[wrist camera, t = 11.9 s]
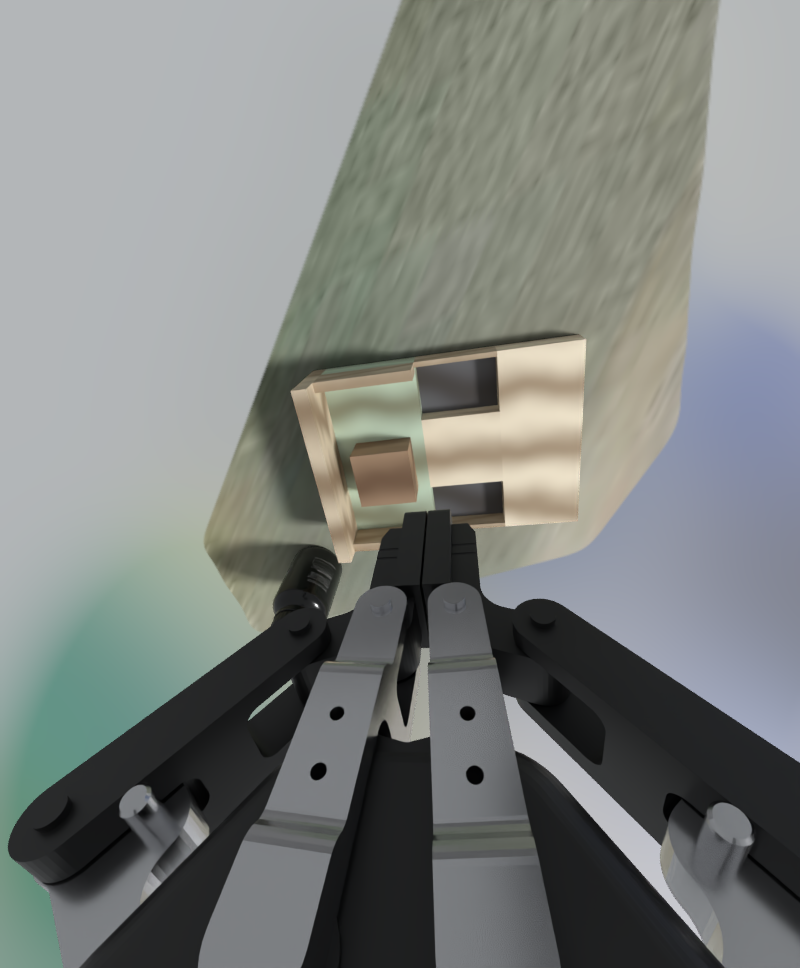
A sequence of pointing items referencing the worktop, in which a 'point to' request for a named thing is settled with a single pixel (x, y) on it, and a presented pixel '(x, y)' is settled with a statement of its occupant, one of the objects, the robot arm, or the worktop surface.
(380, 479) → the walnut block
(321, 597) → the supplement bottle
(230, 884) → the robot arm
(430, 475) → the box
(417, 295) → the worktop surface
